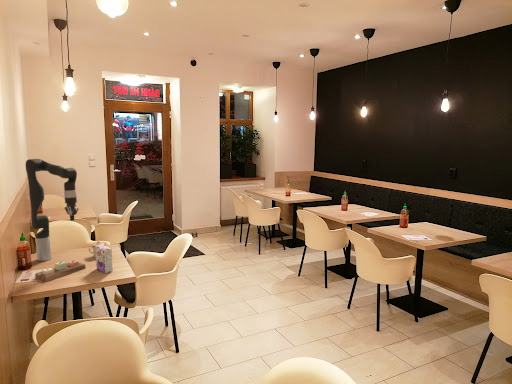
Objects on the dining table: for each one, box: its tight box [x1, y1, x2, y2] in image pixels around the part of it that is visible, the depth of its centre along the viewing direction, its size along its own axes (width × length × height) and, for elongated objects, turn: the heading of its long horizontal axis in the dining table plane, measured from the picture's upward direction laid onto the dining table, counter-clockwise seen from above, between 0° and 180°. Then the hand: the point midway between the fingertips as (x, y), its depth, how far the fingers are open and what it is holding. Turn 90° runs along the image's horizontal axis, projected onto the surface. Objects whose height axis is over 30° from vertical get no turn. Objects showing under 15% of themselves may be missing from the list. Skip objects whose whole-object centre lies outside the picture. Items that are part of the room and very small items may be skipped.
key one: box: [41, 267, 54, 275], centre depth 250 cm, size 5×5×4 cm
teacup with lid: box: [88, 240, 106, 258], centre depth 295 cm, size 12×9×12 cm
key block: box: [34, 262, 86, 282], centre depth 258 cm, size 12×28×3 cm, turn 150°
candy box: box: [95, 244, 114, 274], centre depth 262 cm, size 14×6×16 cm, turn 45°
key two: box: [54, 261, 67, 271], centre depth 258 cm, size 5×5×4 cm
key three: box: [66, 259, 80, 267], centre depth 266 cm, size 5×5×4 cm
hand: (72, 220), depth 273 cm, fingers closed
